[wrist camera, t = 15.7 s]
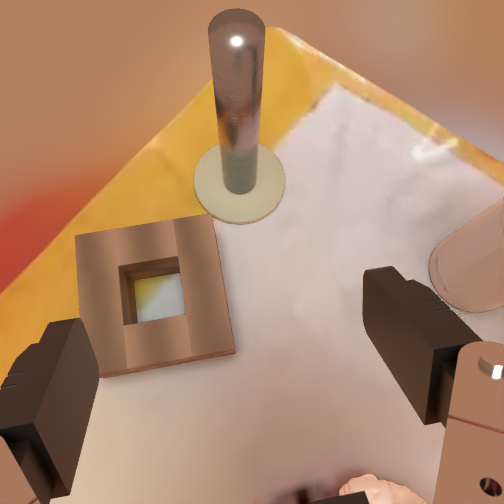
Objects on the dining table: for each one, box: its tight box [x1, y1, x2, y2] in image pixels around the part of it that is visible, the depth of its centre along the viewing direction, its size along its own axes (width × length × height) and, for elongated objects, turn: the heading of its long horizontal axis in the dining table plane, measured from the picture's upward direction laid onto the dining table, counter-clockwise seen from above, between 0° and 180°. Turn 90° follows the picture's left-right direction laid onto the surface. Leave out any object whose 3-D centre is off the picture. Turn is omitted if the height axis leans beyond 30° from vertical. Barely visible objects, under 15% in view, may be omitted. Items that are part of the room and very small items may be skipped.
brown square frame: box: [75, 213, 235, 378], centre depth 43 cm, size 14×14×6 cm
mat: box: [194, 143, 285, 224], centre depth 50 cm, size 11×11×1 cm
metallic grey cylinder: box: [208, 9, 265, 195], centre depth 39 cm, size 4×4×22 cm
